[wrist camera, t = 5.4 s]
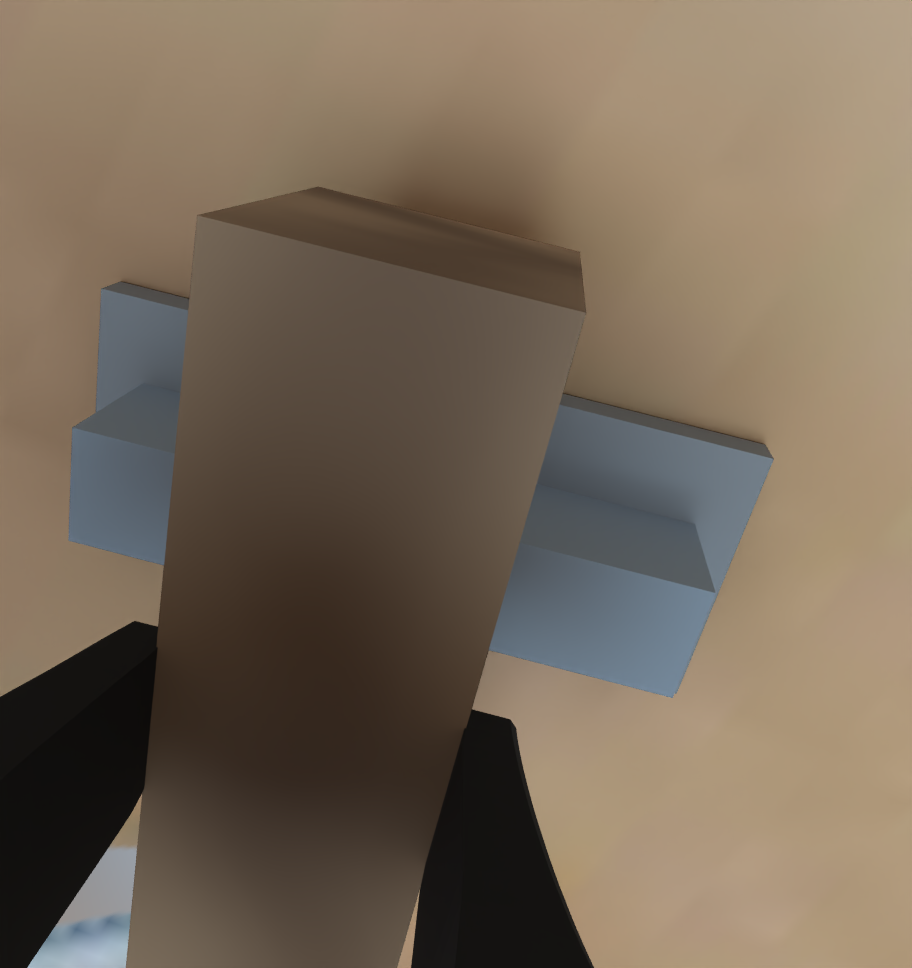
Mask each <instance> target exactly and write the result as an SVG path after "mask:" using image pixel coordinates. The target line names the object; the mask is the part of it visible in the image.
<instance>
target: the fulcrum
mask: <svg viewBox="0 0 912 968" xmlns="http://www.w3.org/2000/svg"><path fill="white" fill-rule="evenodd" d="M188 307H189V299H187V298H183V297H179V296H176V295H172V294H168V293H164V292H160V291H156V290H152V289H148V288H144V287H140V286H136V285H132V284H128V283H124V282H118V283H115V284H112V285H110V286H107V287H104V288H102V289H101V307H100V329H99V351H98V373H97V395H96V413H95V414H93V415H91V416H90V417H88V418H87V419H85V420H84V421H82V422H80V423H79V424H77V425H76V426H74V427H72V453H71V483H70V513H69V541H72V542H76V543H80V544H84V545H88V546H91V547H95V548H99V549H103V550H107V551H111V552H114V553H118V554H122V555H126V556H130V557H134V558H137V559H141V560H145V561H149V562H153V563H157V564H160V565H164V561H165V550H166V539H167V529H168V518H169V508H170V497H171V487H172V476H173V466H174V455H175V445H176V434H177V423H178V413H179V402H180V392H181V381H182V371H183V360H184V350H185V339H186V329H187V318H188ZM773 460H774V459H773V457H772V455H771V453H770V452H769V450H768V448H767V447H766V445H764V444H760V443H756V442H752V441H749V440H745V439H741V438H737V437H733V436H729V435H725V434H721V433H717V432H713V431H709V430H705V429H701V428H697V427H693V426H689V425H685V424H681V423H677V422H673V421H669V420H666V419H662V418H658V417H654V416H650V415H646V414H642V413H638V412H634V411H630V410H626V409H622V408H618V407H614V406H610V405H606V404H602V403H598V402H594V401H590V400H586V399H583V398H579V397H575V396H571V395H567V394H562V398H561V401H560V405H559V408H558V412H557V415H556V419H555V422H554V425H553V429H552V432H551V436H550V439H549V443H548V446H547V450H546V453H545V457H544V460H543V464H542V467H541V470H540V474H539V477H538V481H537V484H536V488H535V491H534V495H533V498H532V502H531V505H530V509H529V512H528V516H527V519H526V522H525V526H524V529H523V533H522V536H521V540H520V543H519V547H518V550H517V554H516V557H515V561H514V564H513V568H512V571H511V574H510V578H509V581H508V585H507V588H506V592H505V595H504V599H503V602H502V606H501V609H500V613H499V616H498V619H497V623H496V626H495V630H494V633H493V637H492V640H491V644H490V647H489V650H491V651H494V652H498V653H502V654H506V655H510V656H514V657H517V658H521V659H525V660H529V661H533V662H537V663H540V664H544V665H548V666H552V667H556V668H560V669H563V670H567V671H571V672H575V673H579V674H583V675H586V676H590V677H594V678H598V679H602V680H606V681H609V682H613V683H617V684H621V685H625V686H629V687H633V688H636V689H640V690H644V691H648V692H652V693H656V694H659V695H663V696H667V697H671V698H673V696H674V693H675V694H676V693H677V691H678V689H679V686H680V684H681V681H682V679H683V677H684V674H685V672H686V669H687V667H688V665H689V662H690V660H691V657H692V655H693V652H694V650H695V648H696V645H697V643H698V640H699V638H700V636H701V633H702V631H703V628H704V626H705V624H706V621H707V619H708V616H709V614H710V611H711V609H712V607H713V604H714V602H715V599H716V597H717V595H718V592H719V590H720V587H721V585H722V583H723V580H724V578H725V575H726V573H727V570H728V568H729V566H730V563H731V561H732V558H733V556H734V554H735V551H736V549H737V546H738V544H739V542H740V539H741V537H742V534H743V532H744V529H745V527H746V525H747V522H748V520H749V517H750V515H751V513H752V510H753V508H754V505H755V503H756V501H757V498H758V496H759V493H760V491H761V488H762V486H763V484H764V481H765V479H766V476H767V474H768V472H769V469H770V467H771V464H772V462H773Z"/></svg>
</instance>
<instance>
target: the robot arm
mask: <svg viewBox="0 0 912 968" xmlns="http://www.w3.org/2000/svg"><path fill="white" fill-rule="evenodd" d="M157 634H158V627H156V626H152V625H148V624H144V623H141V622H137V621H134V622H132V623H130V624H128V625H126V626H125V627H123V628H121V629H119V630H117V631H116V632H114V633H112V634H110V635H108V636H107V637H105V638H103V639H101V640H100V641H98V642H96V643H95V644H93V645H91V646H89V647H88V648H86V649H84V650H83V651H81V652H79V653H77V654H76V655H74V656H72V657H70V658H69V659H67V660H65V661H64V662H62V663H60V664H58V665H57V666H55V667H53V668H51V669H50V670H48V671H46V672H44V673H43V674H41V675H39V676H37V677H35V678H33V679H32V680H30V681H28V682H26V683H24V684H23V685H21V686H19V687H17V688H15V689H14V690H12V691H10V692H8V693H6V694H4V695H3V696H1V697H0V968H27V967H28V965H29V964H30V962H31V961H32V959H33V958H34V956H35V955H36V954H37V952H38V951H39V949H40V948H41V946H42V945H43V943H44V942H45V940H46V939H47V937H48V936H49V934H50V933H51V931H52V930H53V929H54V927H55V926H56V924H57V923H58V921H59V920H60V918H61V917H62V915H63V914H64V912H65V911H66V909H67V908H68V906H69V905H70V904H71V902H72V901H73V899H74V897H75V896H76V894H77V893H78V892H79V890H80V889H81V887H82V886H83V884H84V883H85V881H86V880H87V879H88V877H89V875H90V874H91V873H92V871H93V870H94V868H95V867H96V865H97V864H98V862H99V861H100V859H101V858H102V856H103V855H104V853H105V852H106V850H107V849H108V847H109V846H110V844H111V843H112V841H113V840H114V838H115V837H116V836H117V834H118V833H119V831H120V830H121V828H122V827H123V825H124V823H125V822H126V820H127V819H128V817H129V816H130V814H131V813H132V811H133V809H134V807H135V805H136V803H137V802H138V800H139V798H140V796H141V794H142V792H143V790H144V786H145V775H146V765H147V754H148V744H149V734H150V723H151V713H152V702H153V692H154V681H155V671H156V660H157V650H158V647H156V645H157ZM411 968H594V967H593V964H592V962H591V960H590V958H589V956H588V954H587V952H586V949H585V947H584V945H583V943H582V940H581V938H580V936H579V933H578V931H577V929H576V926H575V924H574V921H573V919H572V917H571V914H570V912H569V909H568V907H567V904H566V901H565V899H564V896H563V894H562V891H561V889H560V886H559V884H558V881H557V878H556V875H555V873H554V870H553V867H552V864H551V861H550V859H549V855H548V852H547V849H546V846H545V843H544V840H543V837H542V834H541V831H540V828H539V825H538V822H537V818H536V815H535V812H534V808H533V805H532V801H531V797H530V794H529V790H528V786H527V782H526V778H525V774H524V770H523V765H522V761H521V756H520V751H519V745H518V739H517V732H516V728H515V726H514V724H513V723H512V721H511V720H510V719H506V718H503V717H499V716H495V715H491V714H487V713H483V712H480V711H476V710H471V713H470V716H469V720H468V723H467V727H466V728H464V731H463V735H462V738H461V742H460V745H459V749H458V752H457V756H456V759H455V763H454V766H453V770H452V773H451V777H450V780H449V784H448V787H447V791H446V794H445V798H444V801H443V804H442V808H441V811H440V815H439V818H438V822H437V825H436V829H435V832H434V836H433V839H432V843H431V846H430V850H429V853H428V857H427V860H426V864H425V868H424V873H423V878H422V883H421V887H420V894H419V903H418V911H417V920H416V929H415V938H414V947H413V956H412V965H411Z"/></svg>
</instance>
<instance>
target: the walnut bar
mask: <svg viewBox="0 0 912 968" xmlns="http://www.w3.org/2000/svg"><path fill="white" fill-rule="evenodd" d="M585 315H586V308H585V298H584V288H583V278H582V268H581V259H580V252H578V251H574V250H570V249H566V248H562V247H558V246H554V245H550V244H546V243H542V242H538V241H534V240H530V239H526V238H522V237H518V236H514V235H510V234H506V233H502V232H498V231H494V230H490V229H486V228H482V227H478V226H474V225H470V224H465V223H461V222H457V221H453V220H449V219H445V218H441V217H437V216H433V215H429V214H425V213H421V212H417V211H413V210H409V209H405V208H401V207H397V206H393V205H389V204H385V203H381V202H377V201H373V200H369V199H365V198H361V197H357V196H353V195H349V194H345V193H341V192H337V191H333V190H329V189H325V188H321V187H315V188H311V189H307V190H302V191H298V192H294V193H290V194H285V195H281V196H277V197H273V198H268V199H264V200H260V201H256V202H252V203H247V204H243V205H239V206H235V207H230V208H226V209H222V210H218V211H213V212H209V213H205V214H201V215H197V223H196V234H195V244H194V255H193V265H192V276H191V286H190V297H189V307H188V318H187V329H186V339H185V350H184V360H183V371H182V381H181V392H180V402H179V413H178V423H177V434H176V445H175V455H174V466H173V476H172V487H171V497H170V508H169V518H168V529H167V539H166V550H165V561H164V571H163V582H162V592H161V603H160V613H159V624H158V634H157V645H156V647H158V650H157V660H156V671H155V681H154V692H153V702H152V713H151V723H150V734H149V744H148V754H147V765H146V775H145V786H144V790H143V793H142V803H141V814H140V824H139V835H138V845H137V856H136V866H135V877H134V888H133V899H132V909H131V919H130V930H129V940H128V951H127V961H126V968H397V966H398V963H399V959H400V956H401V952H402V949H403V945H404V942H405V938H406V935H407V931H408V928H409V924H410V921H411V917H412V914H413V911H414V907H415V904H416V900H417V897H418V893H419V890H420V886H421V883H422V878H423V873H424V868H425V864H426V860H427V857H428V853H429V850H430V846H431V843H432V839H433V836H434V832H435V829H436V825H437V822H438V818H439V815H440V811H441V808H442V804H443V801H444V798H445V794H446V791H447V787H448V784H449V780H450V777H451V773H452V770H453V766H454V763H455V759H456V756H457V752H458V749H459V745H460V742H461V738H462V735H463V731H464V728H466V727H467V723H468V720H469V716H470V713H471V710H472V706H473V703H474V699H475V696H476V692H477V689H478V685H479V682H480V678H481V675H482V671H483V668H484V665H485V661H486V658H487V654H488V651H489V647H490V644H491V640H492V637H493V633H494V630H495V626H496V623H497V619H498V616H499V613H500V609H501V606H502V602H503V599H504V595H505V592H506V588H507V585H508V581H509V578H510V574H511V571H512V568H513V564H514V561H515V557H516V554H517V550H518V547H519V543H520V540H521V536H522V533H523V529H524V526H525V522H526V519H527V516H528V512H529V509H530V505H531V502H532V498H533V495H534V491H535V488H536V484H537V481H538V477H539V474H540V470H541V467H542V464H543V460H544V457H545V453H546V450H547V446H548V443H549V439H550V436H551V432H552V429H553V425H554V422H555V419H556V415H557V412H558V408H559V405H560V401H561V398H562V394H563V391H564V387H565V384H566V380H567V377H568V373H569V370H570V367H571V363H572V360H573V356H574V353H575V349H576V346H577V342H578V339H579V335H580V332H581V328H582V325H583V321H584V318H585Z"/></svg>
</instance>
